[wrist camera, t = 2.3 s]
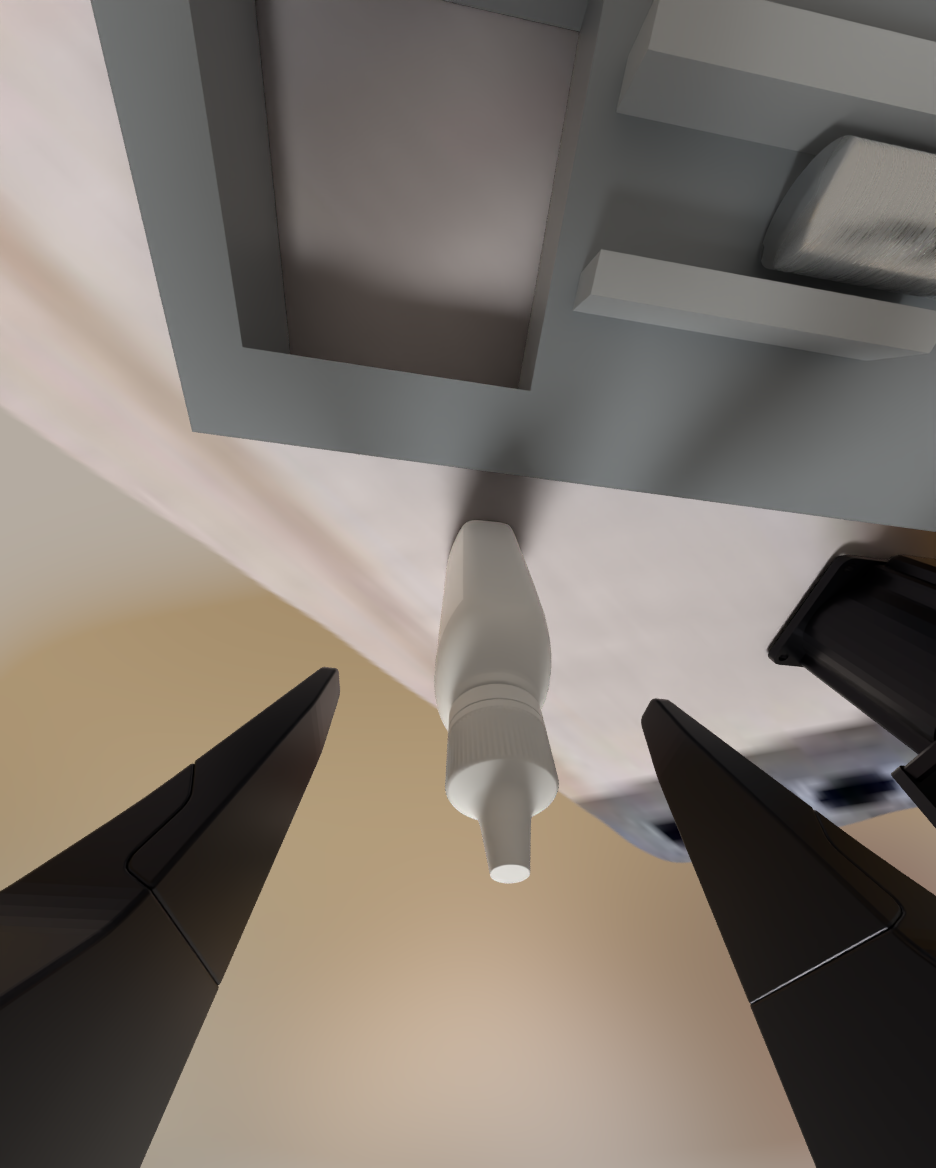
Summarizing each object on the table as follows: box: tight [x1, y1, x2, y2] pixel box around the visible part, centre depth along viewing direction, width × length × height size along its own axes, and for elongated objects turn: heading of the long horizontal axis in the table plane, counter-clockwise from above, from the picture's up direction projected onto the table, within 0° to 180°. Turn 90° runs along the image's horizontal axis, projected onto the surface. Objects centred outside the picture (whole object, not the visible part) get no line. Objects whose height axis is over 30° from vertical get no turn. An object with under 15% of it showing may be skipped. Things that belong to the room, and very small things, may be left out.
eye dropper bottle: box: [434, 520, 559, 883], centre depth 11 cm, size 4×6×12 cm
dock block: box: [91, 0, 936, 532], centre depth 9 cm, size 14×27×4 cm, turn 83°
